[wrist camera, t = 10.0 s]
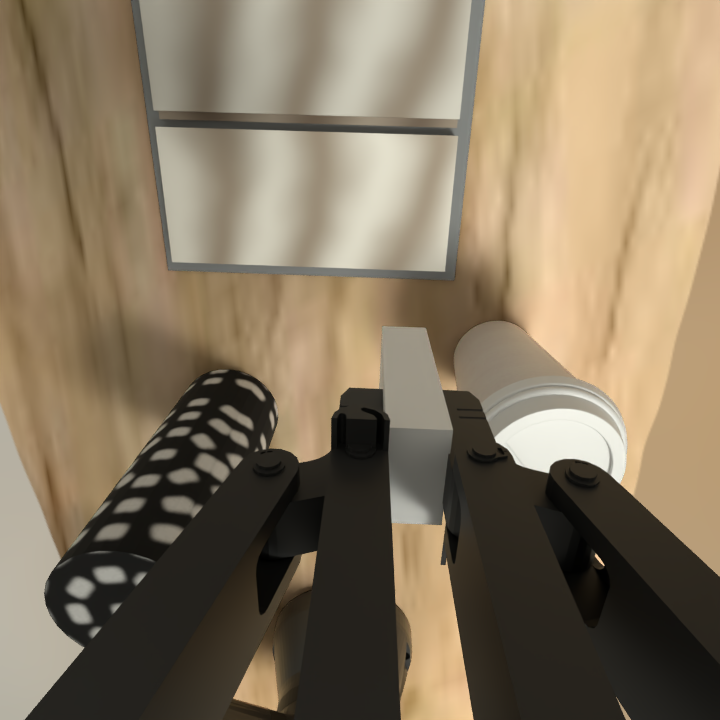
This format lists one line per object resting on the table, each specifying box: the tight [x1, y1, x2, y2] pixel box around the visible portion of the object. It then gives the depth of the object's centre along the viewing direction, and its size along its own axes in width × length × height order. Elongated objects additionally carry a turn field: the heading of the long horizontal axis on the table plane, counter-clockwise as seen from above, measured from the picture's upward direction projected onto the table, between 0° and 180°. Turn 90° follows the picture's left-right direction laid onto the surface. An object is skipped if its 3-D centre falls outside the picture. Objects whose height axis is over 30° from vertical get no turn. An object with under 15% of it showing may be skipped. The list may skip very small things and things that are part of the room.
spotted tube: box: [44, 370, 278, 647], centre depth 34 cm, size 8×8×20 cm
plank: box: [155, 127, 458, 272], centre depth 35 cm, size 20×9×1 cm, turn 88°
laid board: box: [139, 0, 472, 128], centre depth 31 cm, size 20×10×1 cm, turn 88°
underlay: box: [131, 0, 485, 280], centre depth 34 cm, size 22×21×1 cm
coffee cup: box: [454, 321, 627, 484], centre depth 34 cm, size 10×10×15 cm
